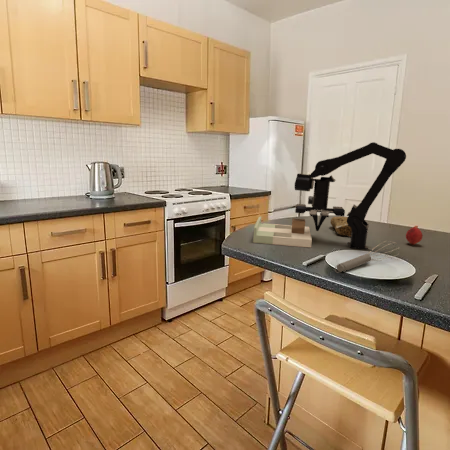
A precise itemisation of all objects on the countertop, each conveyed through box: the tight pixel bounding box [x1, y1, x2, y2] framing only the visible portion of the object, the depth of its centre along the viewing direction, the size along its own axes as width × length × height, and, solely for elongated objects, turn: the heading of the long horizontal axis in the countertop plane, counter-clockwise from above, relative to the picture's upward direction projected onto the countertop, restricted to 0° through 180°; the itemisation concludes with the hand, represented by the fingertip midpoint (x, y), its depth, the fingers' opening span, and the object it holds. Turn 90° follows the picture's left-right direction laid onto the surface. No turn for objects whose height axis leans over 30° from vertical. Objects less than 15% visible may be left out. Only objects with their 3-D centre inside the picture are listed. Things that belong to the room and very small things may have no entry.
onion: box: [405, 225, 424, 246], centre depth 134 cm, size 6×6×8 cm
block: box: [291, 218, 306, 234], centre depth 136 cm, size 5×5×5 cm
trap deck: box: [252, 216, 313, 248], centre depth 138 cm, size 22×22×6 cm
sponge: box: [330, 216, 352, 238], centre depth 152 cm, size 13×8×20 cm
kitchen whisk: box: [334, 240, 400, 274], centre depth 110 cm, size 6×34×6 cm, turn 125°
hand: (317, 230), depth 135 cm, fingers closed
